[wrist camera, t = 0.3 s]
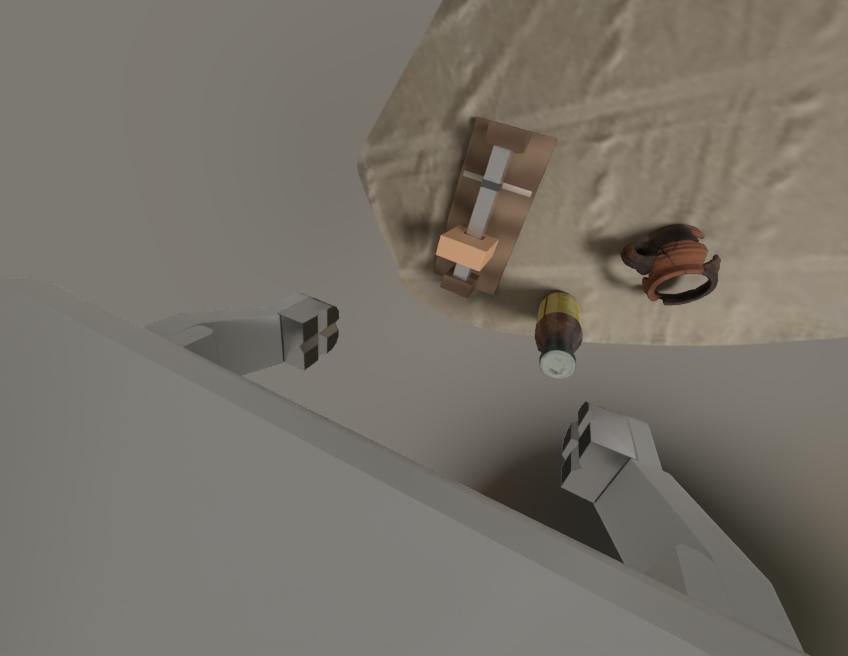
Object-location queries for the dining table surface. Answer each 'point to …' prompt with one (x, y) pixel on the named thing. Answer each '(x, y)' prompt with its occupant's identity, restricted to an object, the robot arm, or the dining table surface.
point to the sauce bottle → (558, 334)
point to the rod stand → (494, 198)
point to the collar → (466, 248)
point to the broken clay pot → (672, 262)
